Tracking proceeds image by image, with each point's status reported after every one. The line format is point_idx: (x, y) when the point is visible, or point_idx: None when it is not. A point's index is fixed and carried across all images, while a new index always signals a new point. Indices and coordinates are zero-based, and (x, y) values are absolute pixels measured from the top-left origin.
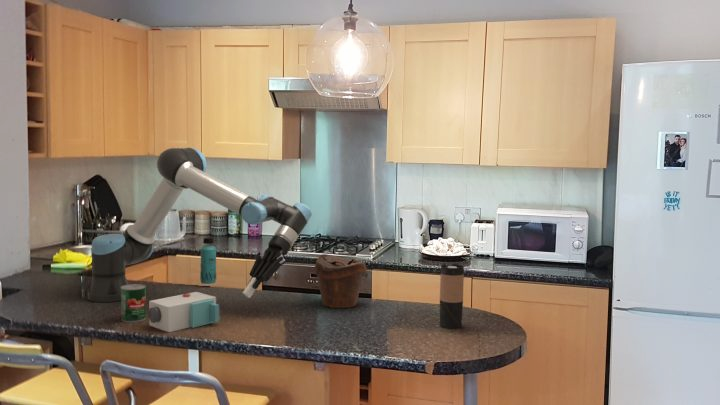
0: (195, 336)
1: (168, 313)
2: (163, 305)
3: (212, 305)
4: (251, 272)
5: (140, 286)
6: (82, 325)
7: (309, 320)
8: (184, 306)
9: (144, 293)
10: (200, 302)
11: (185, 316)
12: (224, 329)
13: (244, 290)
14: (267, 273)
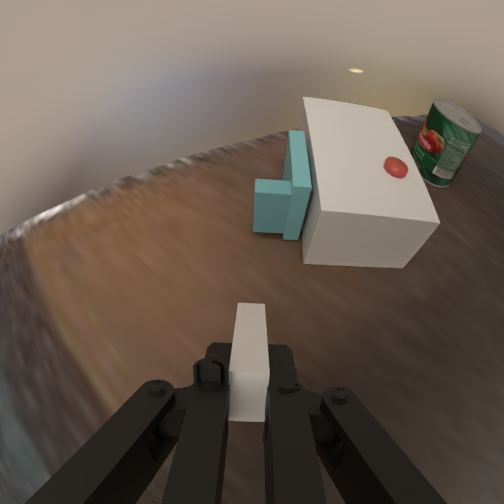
0: (222, 158)
1: (301, 110)
2: (326, 100)
3: (272, 181)
4: (341, 404)
5: (462, 124)
6: (420, 122)
7: (56, 454)
8: (306, 127)
9: (441, 128)
10: (295, 149)
11: None
12: (207, 224)
13: (261, 310)
14: (117, 417)
